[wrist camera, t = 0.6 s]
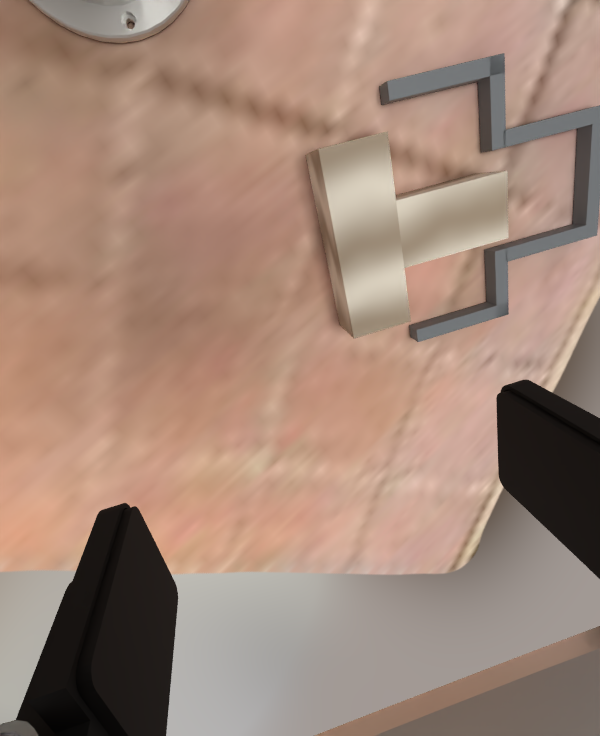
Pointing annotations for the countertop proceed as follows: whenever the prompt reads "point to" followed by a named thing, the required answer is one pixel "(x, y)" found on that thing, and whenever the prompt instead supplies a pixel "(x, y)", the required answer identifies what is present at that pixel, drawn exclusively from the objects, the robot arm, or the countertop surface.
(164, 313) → the countertop surface
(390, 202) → the t block
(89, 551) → the robot arm
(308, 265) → the countertop surface
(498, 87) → the dock
